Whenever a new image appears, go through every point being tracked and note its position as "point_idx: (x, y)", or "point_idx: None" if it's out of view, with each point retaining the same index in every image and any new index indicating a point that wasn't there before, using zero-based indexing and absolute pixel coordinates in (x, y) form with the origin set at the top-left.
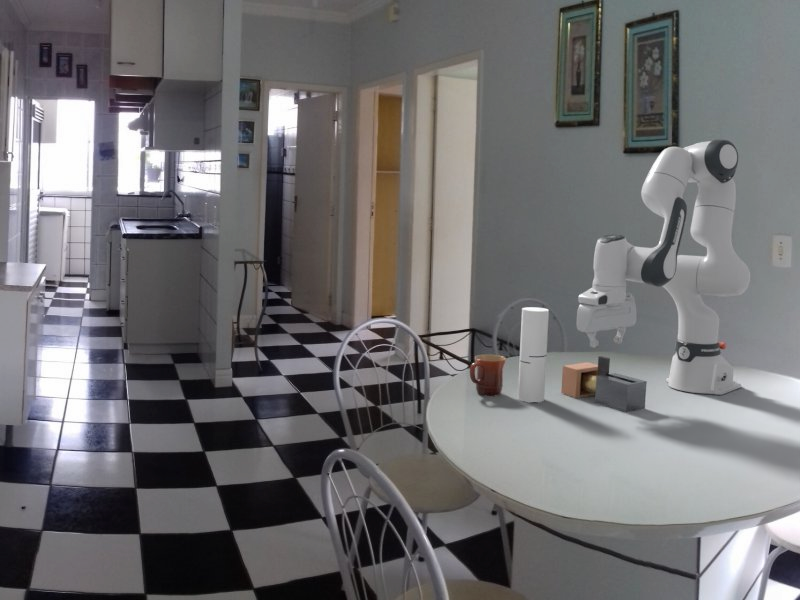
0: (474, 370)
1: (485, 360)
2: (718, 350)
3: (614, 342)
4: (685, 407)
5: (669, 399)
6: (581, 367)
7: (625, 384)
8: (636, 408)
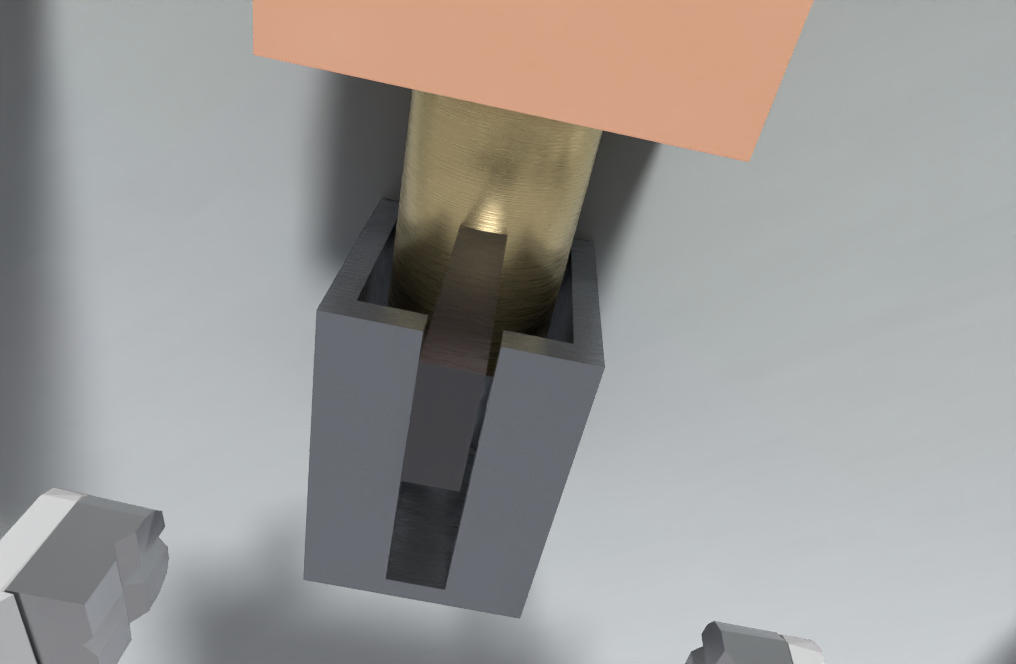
0: None
1: None
2: None
3: (709, 629)
4: (733, 577)
5: (867, 477)
6: (425, 16)
7: (305, 561)
8: None
